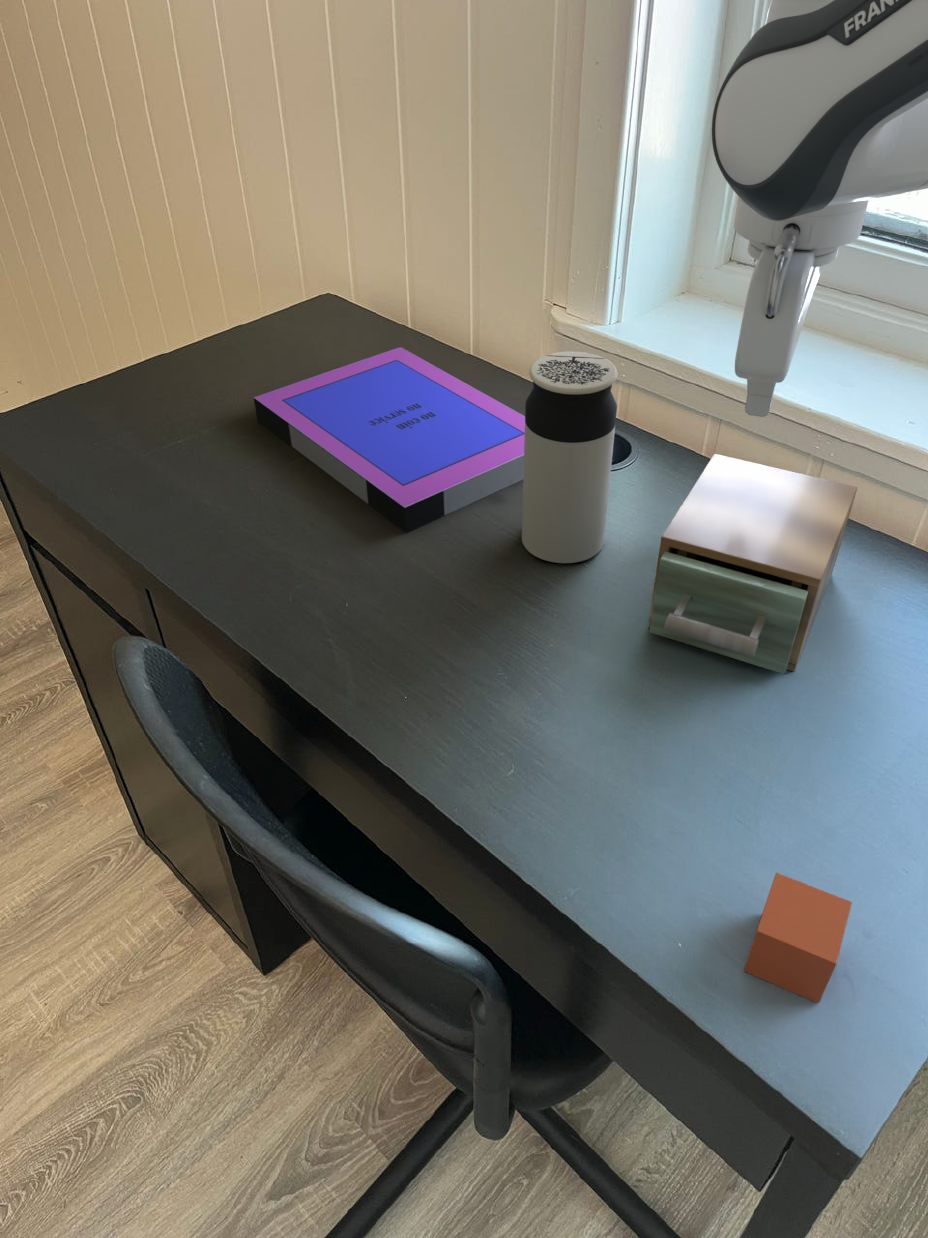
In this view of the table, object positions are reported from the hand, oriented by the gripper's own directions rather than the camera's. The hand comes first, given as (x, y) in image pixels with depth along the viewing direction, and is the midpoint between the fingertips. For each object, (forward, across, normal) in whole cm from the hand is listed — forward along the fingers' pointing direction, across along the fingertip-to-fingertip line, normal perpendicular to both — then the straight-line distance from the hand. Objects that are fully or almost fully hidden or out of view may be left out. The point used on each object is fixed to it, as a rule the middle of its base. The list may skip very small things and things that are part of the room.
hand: (766, 385), depth 76 cm
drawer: (+18, -8, -1) cm, 20 cm away
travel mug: (+19, -1, +16) cm, 25 cm away
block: (+19, -38, -10) cm, 44 cm away
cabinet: (+19, -4, -2) cm, 19 cm away
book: (+18, +12, +39) cm, 44 cm away
